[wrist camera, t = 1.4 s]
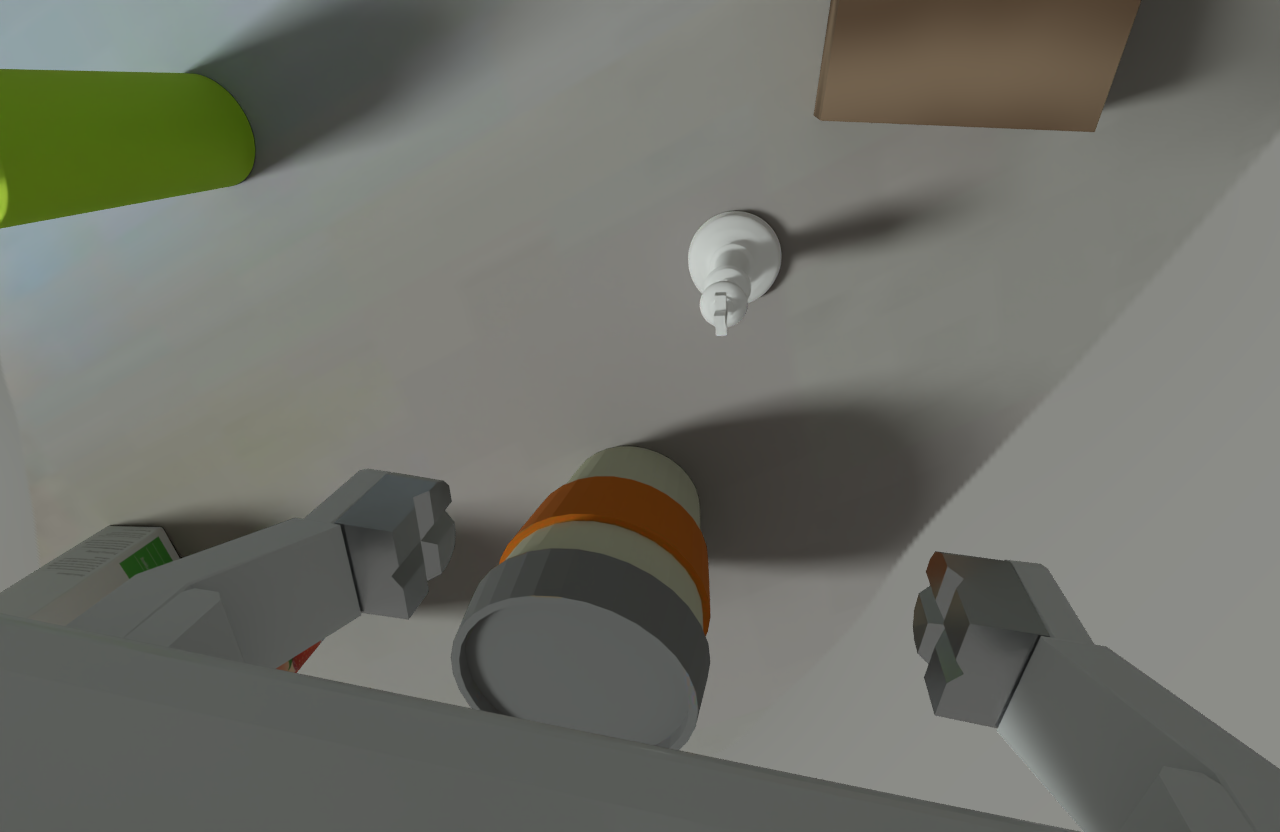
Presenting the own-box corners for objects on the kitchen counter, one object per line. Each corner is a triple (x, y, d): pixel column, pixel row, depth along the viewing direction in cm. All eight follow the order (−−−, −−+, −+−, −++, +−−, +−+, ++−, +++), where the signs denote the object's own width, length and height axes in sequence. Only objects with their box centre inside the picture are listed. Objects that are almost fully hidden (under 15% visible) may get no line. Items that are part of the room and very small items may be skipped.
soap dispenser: (136, 53, 33) (-545, 18, 16) (252, 92, 33) (-313, 97, 16) (152, 163, 36) (-410, 233, 19) (258, 199, 36) (-213, 302, 19)
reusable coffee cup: (766, 492, 39) (761, 694, 26) (661, 599, 45) (615, 805, 32) (602, 385, 38) (511, 542, 25) (517, 510, 44) (409, 688, 31)
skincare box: (204, 595, 56) (25, 755, 43) (148, 592, 58) (-43, 746, 44) (161, 522, 52) (-52, 673, 39) (101, 521, 54) (-123, 666, 40)
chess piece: (782, 208, 31) (785, 255, 22) (780, 302, 33) (782, 378, 24) (686, 213, 32) (652, 261, 23) (690, 304, 34) (662, 378, 25)
